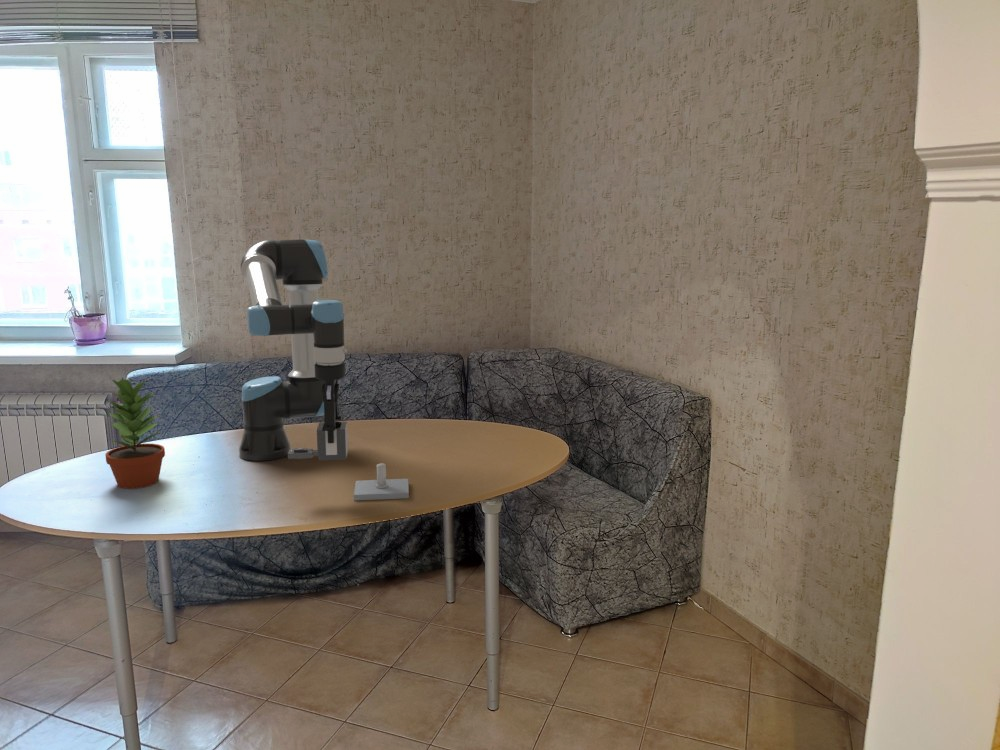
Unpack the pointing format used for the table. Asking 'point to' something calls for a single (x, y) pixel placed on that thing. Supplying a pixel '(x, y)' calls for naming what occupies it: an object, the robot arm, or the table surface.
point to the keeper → (381, 487)
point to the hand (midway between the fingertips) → (332, 449)
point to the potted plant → (134, 440)
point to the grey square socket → (321, 445)
